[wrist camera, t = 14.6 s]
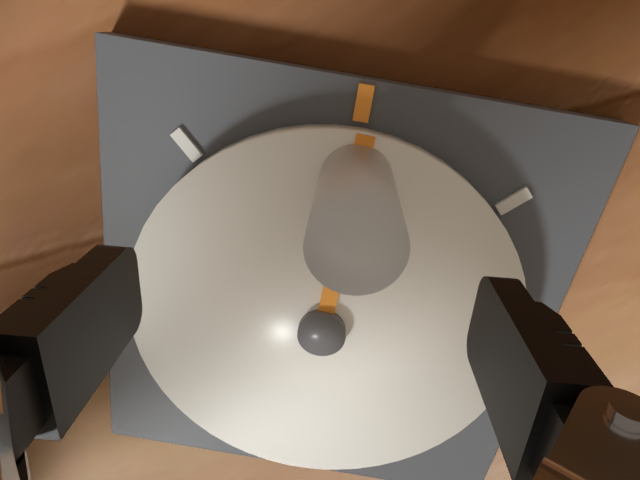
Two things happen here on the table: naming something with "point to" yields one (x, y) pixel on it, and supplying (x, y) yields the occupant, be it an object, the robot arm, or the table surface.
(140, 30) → the table surface
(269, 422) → the dial
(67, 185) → the table surface
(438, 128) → the dial plate
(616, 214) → the table surface
